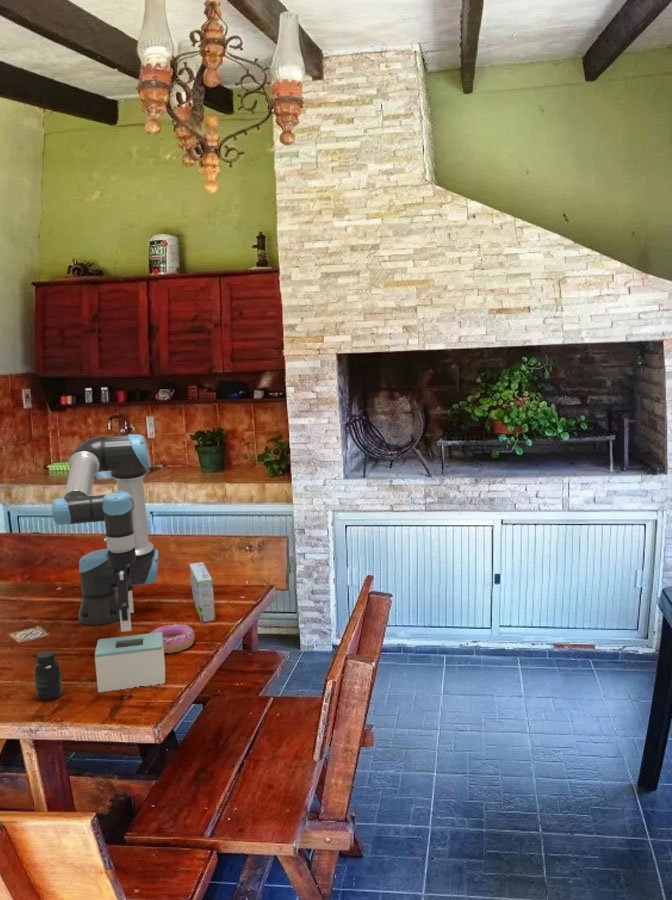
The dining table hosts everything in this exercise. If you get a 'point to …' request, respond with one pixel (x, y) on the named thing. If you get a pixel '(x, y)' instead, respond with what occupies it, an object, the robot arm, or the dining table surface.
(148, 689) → the dining table surface
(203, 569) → the snack box
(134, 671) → the box
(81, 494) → the robot arm
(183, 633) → the donut
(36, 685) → the supplement bottle
